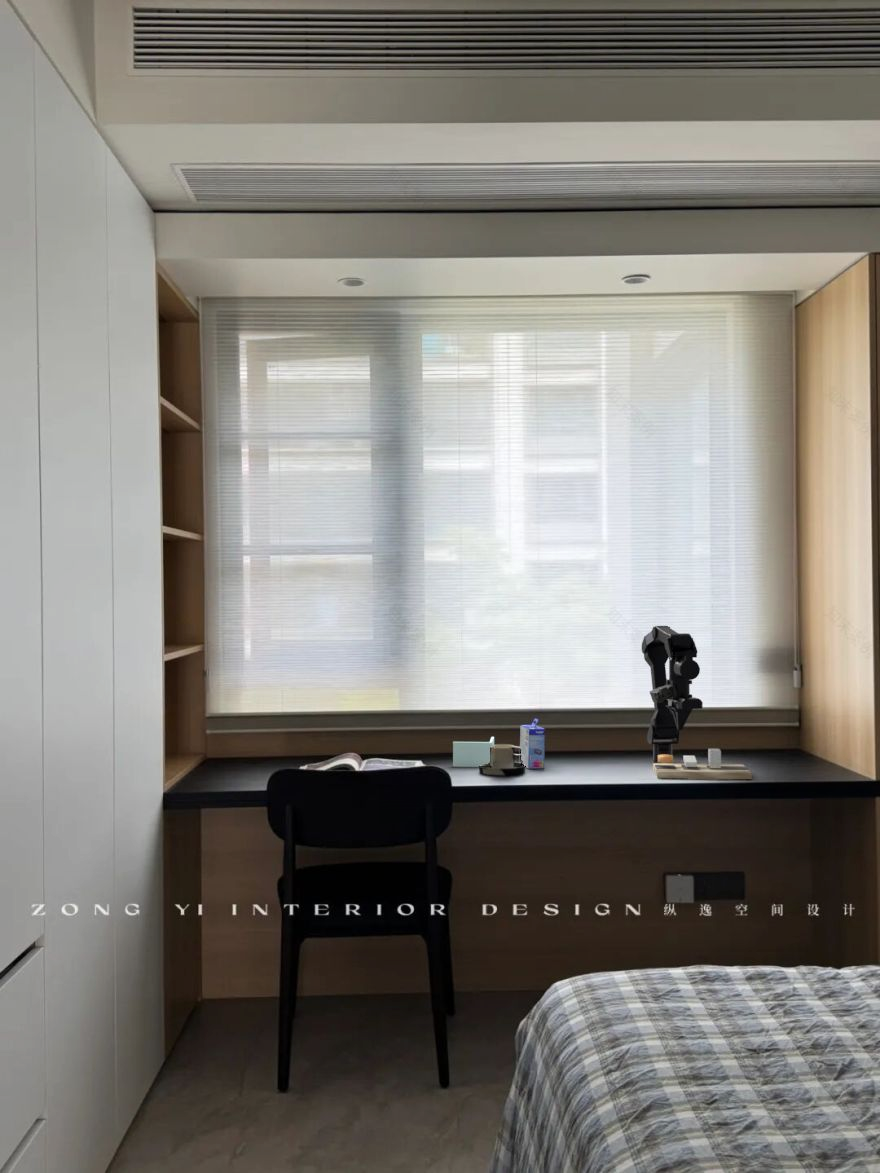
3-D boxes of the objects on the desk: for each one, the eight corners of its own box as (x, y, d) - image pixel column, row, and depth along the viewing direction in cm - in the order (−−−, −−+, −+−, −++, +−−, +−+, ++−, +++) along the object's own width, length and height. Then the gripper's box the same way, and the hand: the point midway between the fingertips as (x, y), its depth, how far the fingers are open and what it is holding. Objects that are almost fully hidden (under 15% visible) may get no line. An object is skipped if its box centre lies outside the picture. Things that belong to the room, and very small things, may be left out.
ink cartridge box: (545, 768, 294) (545, 720, 294) (528, 769, 293) (527, 721, 293) (536, 763, 304) (535, 716, 304) (519, 764, 303) (518, 717, 303)
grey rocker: (683, 760, 286) (683, 755, 285) (694, 760, 285) (694, 755, 285) (685, 766, 280) (685, 762, 280) (697, 766, 280) (697, 762, 279)
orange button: (657, 760, 286) (657, 754, 286) (672, 760, 285) (672, 754, 285) (658, 763, 282) (658, 756, 282) (674, 763, 281) (674, 757, 281)
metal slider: (708, 765, 284) (708, 748, 284) (718, 765, 284) (718, 748, 284) (710, 768, 280) (710, 750, 280) (721, 768, 280) (720, 750, 280)
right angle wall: (494, 760, 310) (494, 736, 310) (492, 767, 298) (492, 742, 298) (456, 759, 311) (456, 736, 311) (453, 766, 299) (453, 742, 299)
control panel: (652, 769, 291) (652, 762, 291) (742, 770, 288) (742, 763, 288) (657, 778, 277) (657, 770, 277) (751, 780, 274) (751, 772, 274)
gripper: (641, 674, 291) (641, 726, 291) (665, 680, 272) (666, 736, 273) (676, 673, 293) (676, 725, 293) (703, 679, 274) (703, 734, 274)
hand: (679, 730), depth 283 cm, fingers closed
